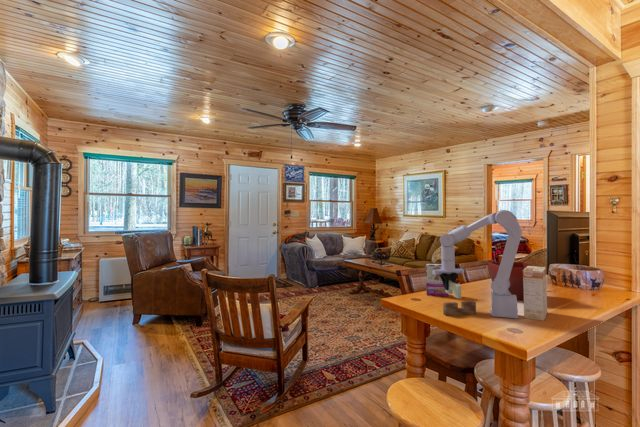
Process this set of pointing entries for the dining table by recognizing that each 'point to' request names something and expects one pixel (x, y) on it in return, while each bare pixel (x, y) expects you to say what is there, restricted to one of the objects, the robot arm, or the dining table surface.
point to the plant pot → (512, 277)
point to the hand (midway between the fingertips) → (448, 289)
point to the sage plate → (454, 287)
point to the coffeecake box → (535, 292)
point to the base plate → (453, 309)
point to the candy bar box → (434, 281)
